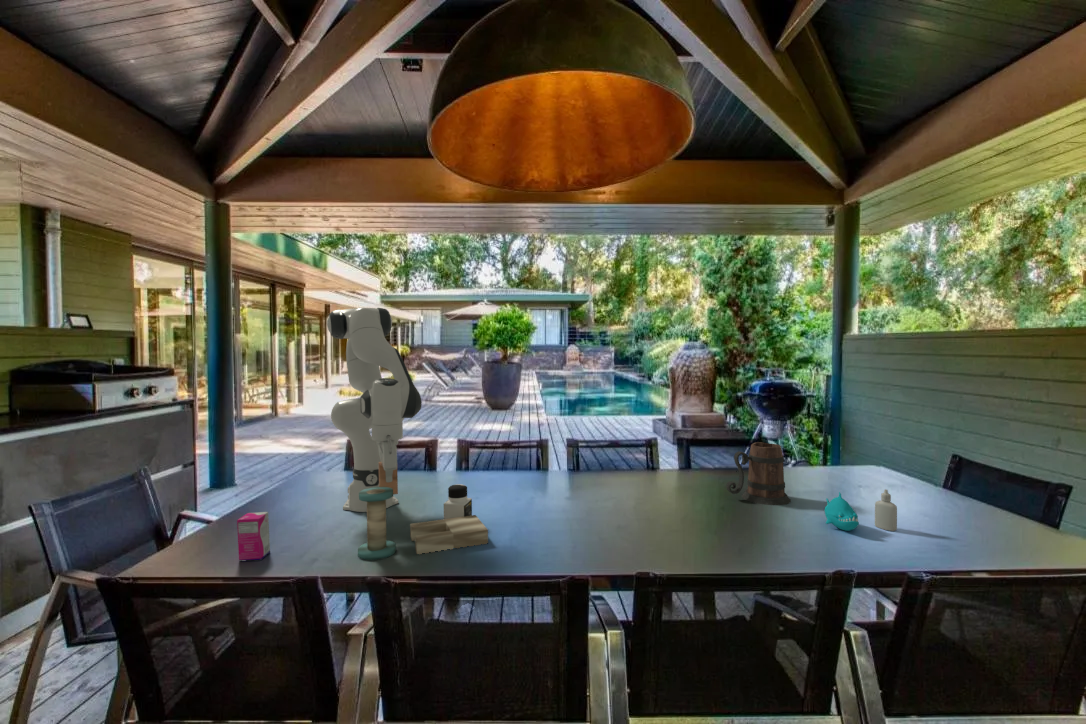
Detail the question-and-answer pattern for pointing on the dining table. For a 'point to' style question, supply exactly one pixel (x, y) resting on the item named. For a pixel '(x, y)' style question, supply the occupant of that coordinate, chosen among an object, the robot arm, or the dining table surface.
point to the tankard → (762, 475)
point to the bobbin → (376, 524)
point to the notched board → (448, 534)
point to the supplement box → (253, 536)
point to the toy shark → (841, 514)
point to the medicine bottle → (457, 502)
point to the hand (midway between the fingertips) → (388, 479)
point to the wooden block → (383, 479)
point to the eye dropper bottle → (886, 513)
